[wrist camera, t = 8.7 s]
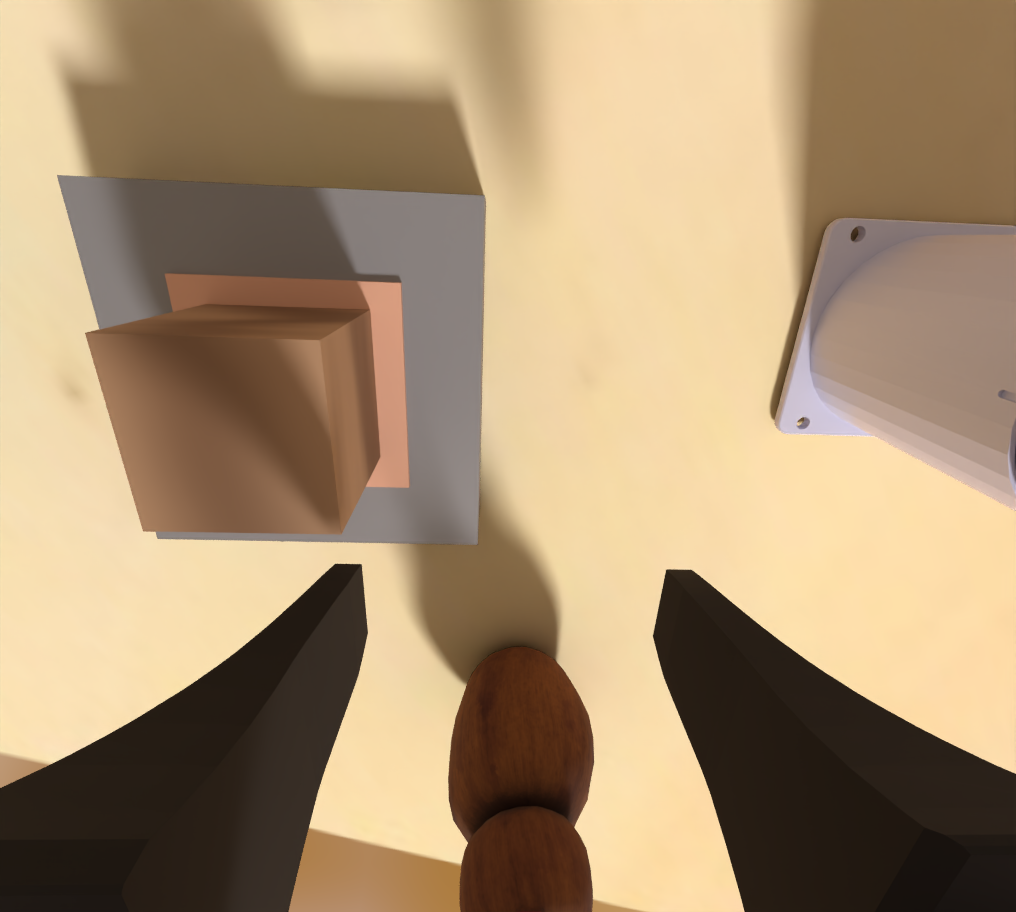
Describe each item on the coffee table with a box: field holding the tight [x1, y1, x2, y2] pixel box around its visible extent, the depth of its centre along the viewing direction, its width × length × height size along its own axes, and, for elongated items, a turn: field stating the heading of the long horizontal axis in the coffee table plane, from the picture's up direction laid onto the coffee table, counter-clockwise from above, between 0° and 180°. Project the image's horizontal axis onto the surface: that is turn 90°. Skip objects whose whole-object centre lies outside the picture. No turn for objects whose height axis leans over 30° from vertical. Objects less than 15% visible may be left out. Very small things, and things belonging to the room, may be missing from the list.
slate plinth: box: [57, 175, 486, 545], centre depth 18 cm, size 12×12×3 cm
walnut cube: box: [85, 304, 381, 535], centre depth 14 cm, size 5×5×5 cm
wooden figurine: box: [448, 647, 594, 912], centre depth 19 cm, size 7×6×15 cm
